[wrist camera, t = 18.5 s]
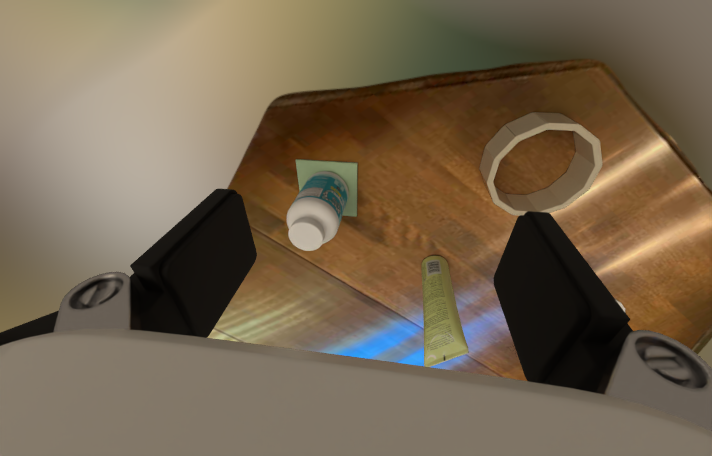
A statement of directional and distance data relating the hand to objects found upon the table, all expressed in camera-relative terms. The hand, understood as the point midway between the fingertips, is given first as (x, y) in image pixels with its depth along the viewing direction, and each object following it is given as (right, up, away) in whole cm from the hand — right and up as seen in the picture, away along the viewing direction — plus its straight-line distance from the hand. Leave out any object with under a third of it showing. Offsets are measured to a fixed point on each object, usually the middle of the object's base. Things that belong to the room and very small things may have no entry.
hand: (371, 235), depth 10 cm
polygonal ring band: (+24, +10, +31) cm, 41 cm away
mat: (-5, +7, +39) cm, 40 cm away
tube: (+14, -7, +45) cm, 48 cm away
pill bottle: (-5, +7, +38) cm, 39 cm away
